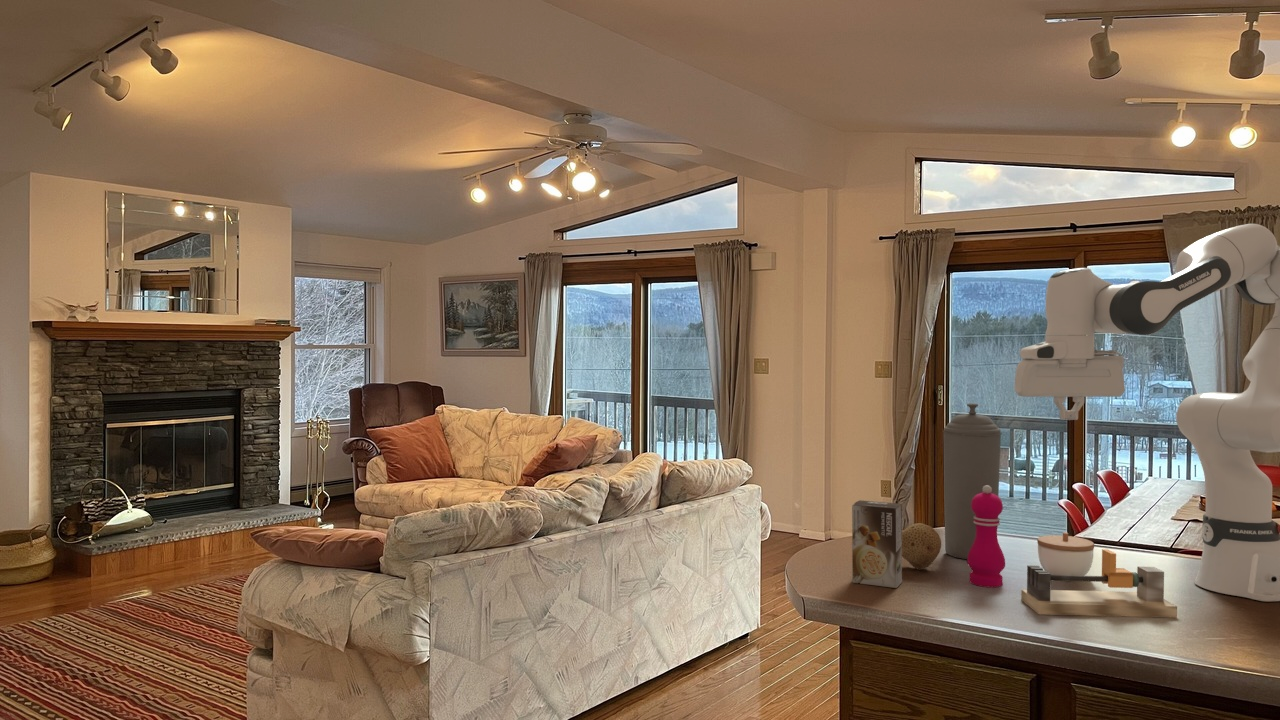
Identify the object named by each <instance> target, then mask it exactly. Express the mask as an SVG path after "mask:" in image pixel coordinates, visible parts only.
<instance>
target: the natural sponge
mask: <svg viewBox="0 0 1280 720" xmlns="http://www.w3.org/2000/svg"><path fill="white" fill-rule="evenodd" d="M941 548H942V540H941V536H940V535H939V533H938V532H937V531H936V530H935V529H934V528H933V527H932V526H930V525H927V524H925V523H921V522H919V523H912V524H910V525H909V526H907V527H906V528H905V529H904V530H903V531H902V559H903V558H904V560H906V561H907V562H908V563H909V564H910V565H911V566H912V567H913V568H915V569H916V570H925V569H927V568H928V567H929V566H931V565H932V564H933V562H934V561H935V560H936V559H937V557H938V556H939V554H940V551H941Z"/></svg>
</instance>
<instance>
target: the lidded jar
mask: <svg viewBox="0 0 1280 720" xmlns="http://www.w3.org/2000/svg"><path fill="white" fill-rule="evenodd" d="M1036 540H1037V542H1036V543H1037V553H1038V554H1037V555H1038V559H1039V563H1040V565H1041V566H1040V567H1041V568H1043V570H1046V571H1047V572H1048V573H1050V574H1051V575H1072V576H1087V574H1088V572H1089V571H1090V570H1091V568H1092V565H1093V560H1094V549H1095V543H1094V542H1093V541H1092V540H1089V539H1086V538H1082V537H1076V536H1072V535H1069V533H1068V532H1066V531H1064V532H1062V535H1061V534H1060V535H1057V534H1052V535H1051V534H1049V535H1041V536H1039V537H1038V538H1037V539H1036Z"/></svg>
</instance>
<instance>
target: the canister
mask: <svg viewBox="0 0 1280 720" xmlns="http://www.w3.org/2000/svg"><path fill="white" fill-rule="evenodd" d="M966 406H967V407H968V408H969V412H968V414H967V413H964V414H958V415H957V414H956V415H955V416H954V417H953V418H952V419H950V422H948V423H947V424H946V426H944V428H943V430H942V433H943V435H942V436H943V442H942V443H943V499H944V500H943V501H944V502H943V503H944V504H943V505H944V510H943V511H944V548H945V550H944V551H945V553H946V554H947V555H949V556H950V557H954V558H957V559H963V560H967V559H968V554H969V551H970V549H971V547H972V545H973V543H974V540H975V537H976V524H975V523H974V516H976V515H975V513H974V512H973V510H972V508H971V502H972V499H973V498H974V496H976V495H977V494H979V493H984V492H983V490H982V489H983V487H984V486H986V485H988V486H990V487H991V488H992V491H991V493H992V494H995V495H997V496H998V497H999V493H1000V492H999V490H1000V470H1001V469H1000V468H1001V464H1000V463H1001V441H1002V439H1001V437H1002V435H1003V434H1002V432H1001V429H1000V428H999V427H998V426H997V424H996V423H994V421H993V419H992V418H990V417H989V416H988V415H985V414H983V415H982V414H977V412H976V408H978V407H979V404H978V403H973V402H972V403H971V402H970V403H967V404H966Z"/></svg>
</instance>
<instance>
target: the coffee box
mask: <svg viewBox="0 0 1280 720" xmlns="http://www.w3.org/2000/svg"><path fill="white" fill-rule="evenodd" d="M902 506H903V505H902V503H896V502H895V503H894V502H883V501H872V500H871V501H870V500H860V499H859V500H857V501H855V502H854V503H853V504H852V506H851V516H852V517H851V525H852V526H851V532H852V534H851V535H852V536H851V541H852V544H851V545H852V548H851V549H852V550H851V551H852V552H851V554H852V556H851V557H852V562H851V563H852V571H851V572H852V573H851V574H852V576H851V577H852V584H858V583H860V584H861V585H868V586H877V587H885V588H894V589H897V588H898V587H899V586H900V585H901V584H902V583H903V569H902V568H903V562H902V560H903V557H902V532H903V531H902V527H903V526H902V525H903V521H902V520H903V519H902V518H903V515H902V513H903V507H902Z"/></svg>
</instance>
